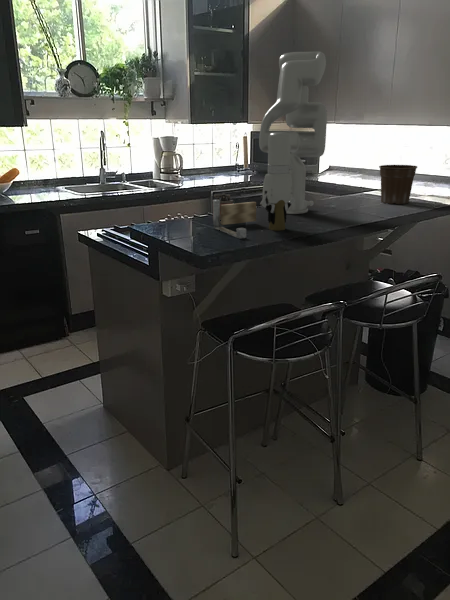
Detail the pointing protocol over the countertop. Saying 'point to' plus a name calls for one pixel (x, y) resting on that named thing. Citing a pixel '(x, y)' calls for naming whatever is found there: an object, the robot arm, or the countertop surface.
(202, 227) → the countertop surface
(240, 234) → the grey l-shaped bracket
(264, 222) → the countertop surface
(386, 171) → the plant pot
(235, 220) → the door
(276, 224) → the cork
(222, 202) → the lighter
